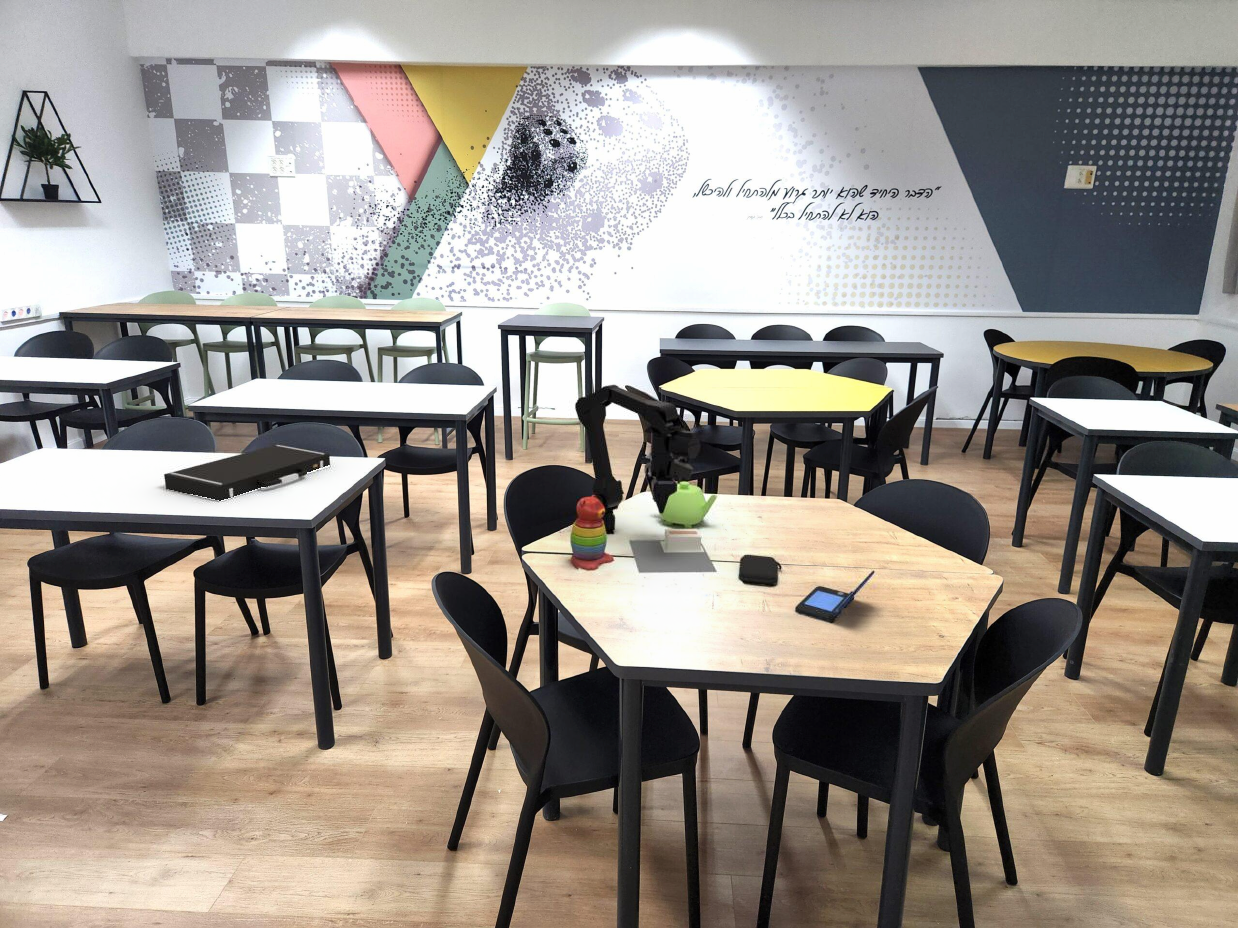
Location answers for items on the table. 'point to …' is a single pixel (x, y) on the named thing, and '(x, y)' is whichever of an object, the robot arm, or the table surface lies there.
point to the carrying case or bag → (759, 570)
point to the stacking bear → (589, 535)
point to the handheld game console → (827, 602)
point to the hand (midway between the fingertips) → (658, 507)
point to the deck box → (682, 540)
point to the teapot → (686, 506)
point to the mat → (668, 558)
